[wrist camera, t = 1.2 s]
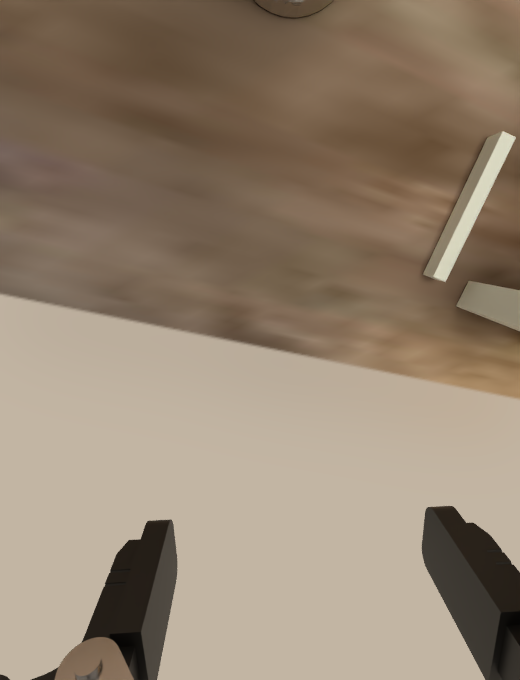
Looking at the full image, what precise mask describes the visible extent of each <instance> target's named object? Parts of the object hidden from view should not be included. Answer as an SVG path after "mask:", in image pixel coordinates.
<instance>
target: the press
mask: <svg viewBox="0 0 520 680" xmlns="http://www.w3.org/2000/svg"><path fill="white" fill-rule="evenodd" d="M515 138H516V137H514V136H512V135H510V134H508V133H506V132H504V131H502V132H500V133H497V134H495V135H492V136H490V137H487V139H486V142H485V144H484V146H483V148H482V150H481V152H480V154H479V156H478V159H477V161H476V163H475V165H474V167H473V169H472V171H471V173H470V175H469V178H468V180H467V182H466V184H465V186H464V188H463V190H462V192H461V195H460V197H459V199H458V201H457V203H456V205H455V207H454V209H453V212H452V214H451V216H450V218H449V220H448V222H447V224H446V226H445V228H444V231H443V233H442V235H441V237H440V239H439V241H438V243H437V245H436V248H435V250H434V252H433V254H432V256H431V258H430V260H429V262H428V264H427V267H426V269H425V271H424V273H423V275H425V276H428V277H430V278H433V279H436V280H440V281H444V282H446V280H447V278H448V276H449V274H450V272H451V270H452V267H453V265H454V263H455V261H456V259H457V257H458V255H459V253H460V251H461V249H462V247H463V245H464V243H465V241H466V239H467V237H468V235H469V233H470V231H471V229H472V226H473V224H474V222H475V220H476V218H477V216H478V214H479V212H480V210H481V208H482V206H483V204H484V202H485V200H486V198H487V196H488V194H489V192H490V190H491V188H492V185H493V183H494V181H495V179H496V177H497V175H498V173H499V171H500V169H501V167H502V165H503V163H504V161H505V159H506V157H507V155H508V153H509V151H510V149H511V147H512V144H513V142H514V140H515ZM456 307H459V308H462V309H464V310H467V311H469V312H472V313H474V314H477V315H479V316H482V317H484V318H487V319H489V320H492V321H494V322H497V323H500V324H502V325H505V326H507V327H510V328H512V329H515V330H517V331H520V290H515V289H509V288H504V287H499V286H494V285H489V284H484V283H479V282H474V281H468V283H467V285H466V287H465V289H464V291H463V293H462V295H461V297H460V299H459V301H458V303H457V305H456Z"/></svg>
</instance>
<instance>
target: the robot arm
mask: <svg viewBox="0 0 520 680" xmlns="http://www.w3.org/2000/svg"><path fill="white" fill-rule="evenodd" d="M254 1H255V2H256V3H257V4H258V5H260V6H261V7H263V8H264V9H266V10H268V11H269V12H271V13H274V14H277V15H280V16H283V17H294V18H297V17H303V16H308V15H311V14H313V13H315V12H318V11H320V10H322V9H323V8H324V7H326V6H327V5H328V4H330V3H331V2H332V1H333V0H254ZM422 554H423V559H424V563H425V566H426V568H427V570H428V572H429V574H430V576H431V578H432V579H433V581H434V583H435V585H436V587H437V589H438V591H439V593H440V594H441V597H442V598H443V600H444V602H445V604H446V606H447V608H448V610H449V612H450V613H451V615H452V617H453V619H454V621H455V623H456V625H457V627H458V629H459V630H460V632H461V634H462V636H463V638H464V640H465V642H466V644H467V646H468V647H469V649H470V651H471V653H472V655H473V657H474V659H475V661H476V662H477V664H478V666H479V668H480V670H481V672H482V674H483V676H484V678H485V680H520V572H519V571H518V570H517V569H516V567H515V566H514V565H512V564H511V561H510V560H509V558H508V557H507V556H506V555H505V553H502V550H501V548H500V547H499V546H498V545H497V543H496V542H495V541H494V540H493V538H492V537H491V536H490V535H489V534H488V533H487V532H485V531H484V530H483V529H481V528H480V527H478V526H477V525H476V524H474V523H466V522H465V521H464V519H463V518H462V517H461V515H460V514H459V513H458V511H457V510H456V509H455V508H454V507H453V506H442V507H428V508H427V509H426V512H425V520H424V530H423V540H422ZM176 577H177V554H176V545H175V536H174V527H173V522H172V520H158V521H157V520H156V521H148V522H147V523H146V525H145V528H144V531H143V534H142V537H141V540H129V541H128V542H127V543H126V544H125V545H124V546H123V548H122V549H121V550H120V551H119V552H118V553H117V555H116V557H115V560H114V562H113V565H112V567H111V572H110V573H109V575H108V578H107V580H106V583H105V587H104V588H103V590H102V593H101V595H100V598H99V601H98V603H97V606H96V608H95V611H94V613H93V616H92V618H91V621H90V624H89V626H88V629H87V632H86V634H85V636H84V638H83V641H82V643H80V644H79V645H77V646H76V647H75V648H74V649H72V650H71V651H70V652H69V653H68V654H67V656H66V657H65V658H64V659H63V661H62V662H61V664H60V666H59V667H58V668H56V669H55V670H53V671H51V672H49V673H47V674H45V675H43V676H40V677H37V678H35V679H32V680H157V676H158V671H159V666H160V661H161V656H162V651H163V645H164V640H165V635H166V630H167V625H168V620H169V615H170V609H171V605H172V599H173V594H174V589H175V584H176ZM0 680H10V679H9V678H8V677H6V676H4V675H0Z"/></svg>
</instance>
